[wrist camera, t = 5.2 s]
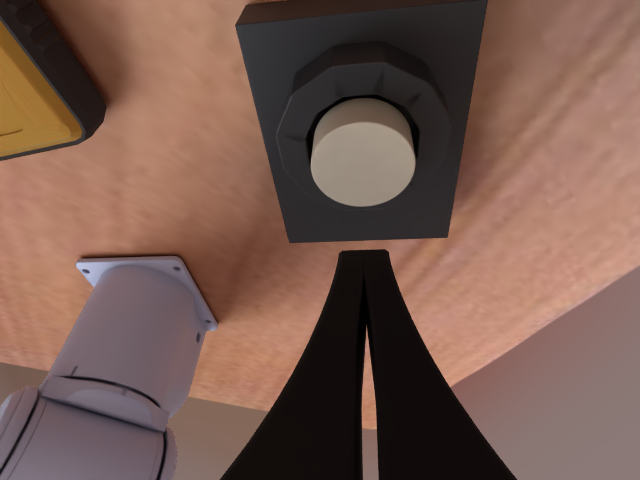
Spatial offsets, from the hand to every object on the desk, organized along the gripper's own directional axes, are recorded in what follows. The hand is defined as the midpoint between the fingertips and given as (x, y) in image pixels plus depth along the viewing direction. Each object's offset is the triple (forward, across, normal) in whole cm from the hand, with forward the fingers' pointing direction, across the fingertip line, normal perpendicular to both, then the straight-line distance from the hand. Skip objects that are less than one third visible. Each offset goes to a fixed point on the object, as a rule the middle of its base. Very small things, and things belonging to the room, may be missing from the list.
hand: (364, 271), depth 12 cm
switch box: (+10, 0, +2) cm, 11 cm away
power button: (+7, 0, 0) cm, 7 cm away
